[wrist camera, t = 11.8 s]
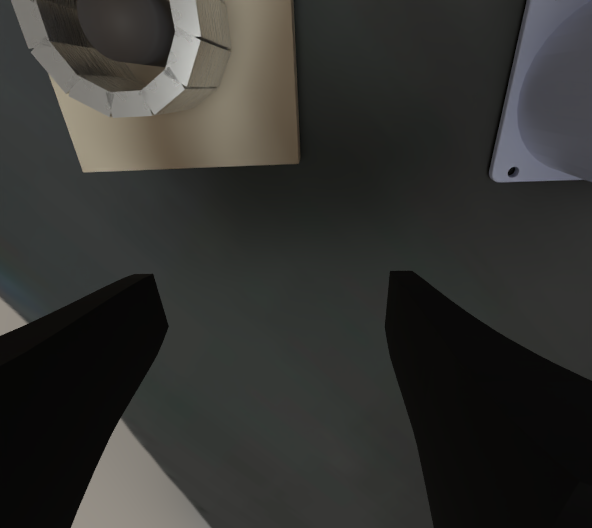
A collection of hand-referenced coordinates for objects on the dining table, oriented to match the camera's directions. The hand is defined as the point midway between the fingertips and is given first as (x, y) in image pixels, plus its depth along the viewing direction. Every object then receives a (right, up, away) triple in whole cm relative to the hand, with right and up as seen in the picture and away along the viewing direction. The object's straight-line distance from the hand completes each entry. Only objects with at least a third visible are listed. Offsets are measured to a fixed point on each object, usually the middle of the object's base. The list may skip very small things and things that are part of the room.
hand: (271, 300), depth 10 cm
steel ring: (-5, +11, +4) cm, 12 cm away
